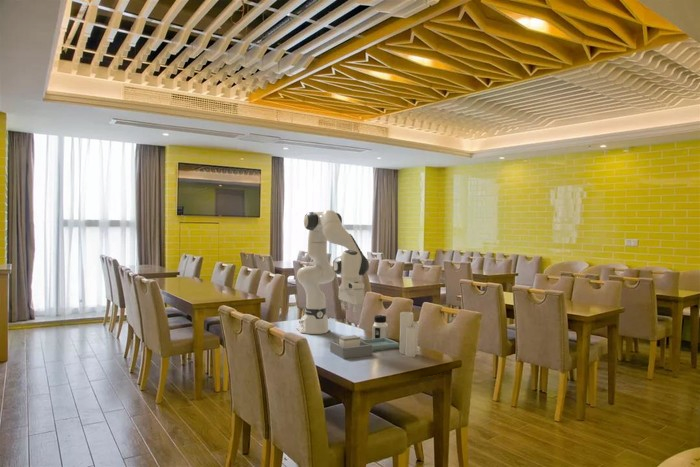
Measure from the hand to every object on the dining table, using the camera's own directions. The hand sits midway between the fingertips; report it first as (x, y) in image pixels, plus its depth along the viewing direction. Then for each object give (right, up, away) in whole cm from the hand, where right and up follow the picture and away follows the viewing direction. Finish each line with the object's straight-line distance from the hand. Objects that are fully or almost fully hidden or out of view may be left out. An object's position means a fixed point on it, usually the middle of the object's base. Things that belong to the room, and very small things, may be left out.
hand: (350, 311), depth 243 cm
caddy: (0, -21, 0) cm, 21 cm away
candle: (+29, -21, 0) cm, 36 cm away
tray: (+14, -21, +14) cm, 28 cm away
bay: (0, -21, -1) cm, 21 cm away
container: (+17, -21, +32) cm, 42 cm away
